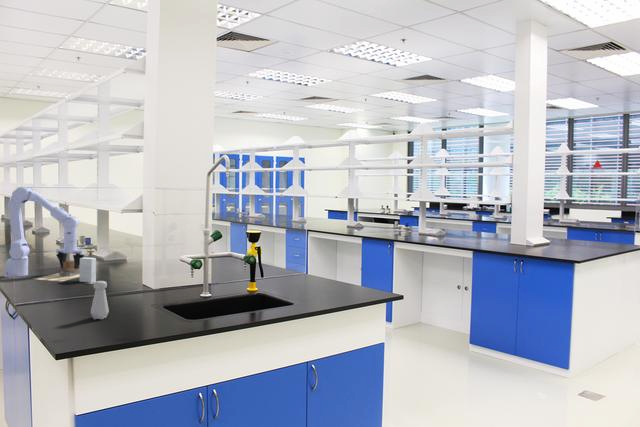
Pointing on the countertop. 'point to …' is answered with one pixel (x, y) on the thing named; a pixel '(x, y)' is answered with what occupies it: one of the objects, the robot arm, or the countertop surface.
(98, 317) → the salt shaker
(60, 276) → the clip board
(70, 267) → the tan upright block
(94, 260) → the skincare box
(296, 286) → the countertop surface
